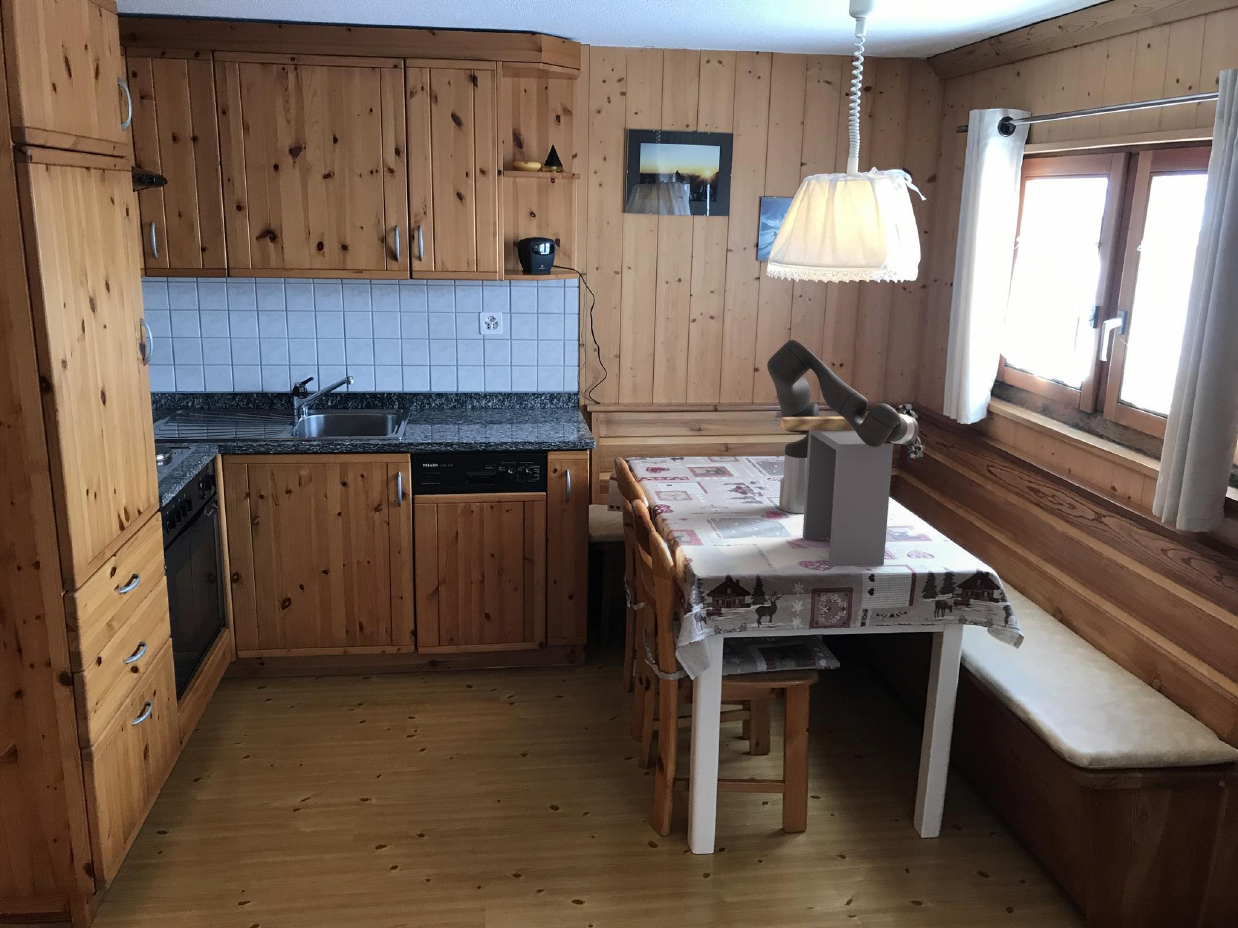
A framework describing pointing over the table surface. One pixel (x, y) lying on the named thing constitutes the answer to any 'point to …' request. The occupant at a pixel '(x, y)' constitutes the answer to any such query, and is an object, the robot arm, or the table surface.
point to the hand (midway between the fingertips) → (918, 432)
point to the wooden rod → (815, 423)
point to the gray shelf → (847, 496)
